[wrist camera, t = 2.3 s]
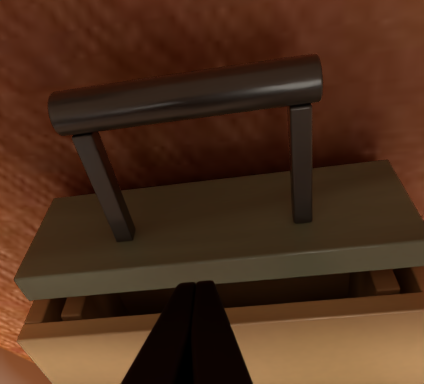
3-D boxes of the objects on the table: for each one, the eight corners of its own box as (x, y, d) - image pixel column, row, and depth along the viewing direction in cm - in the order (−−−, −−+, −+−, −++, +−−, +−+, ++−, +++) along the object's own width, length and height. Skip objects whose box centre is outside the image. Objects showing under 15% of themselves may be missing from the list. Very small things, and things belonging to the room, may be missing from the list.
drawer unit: (65, 223, 19) (15, 341, 14) (390, 188, 17) (454, 307, 12) (140, 365, 26) (123, 469, 22) (366, 349, 25) (398, 459, 20)
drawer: (-14, 70, 13) (-92, 139, 10) (410, 4, 12) (484, 58, 8) (133, 351, 24) (120, 428, 21) (363, 334, 22) (388, 415, 19)
